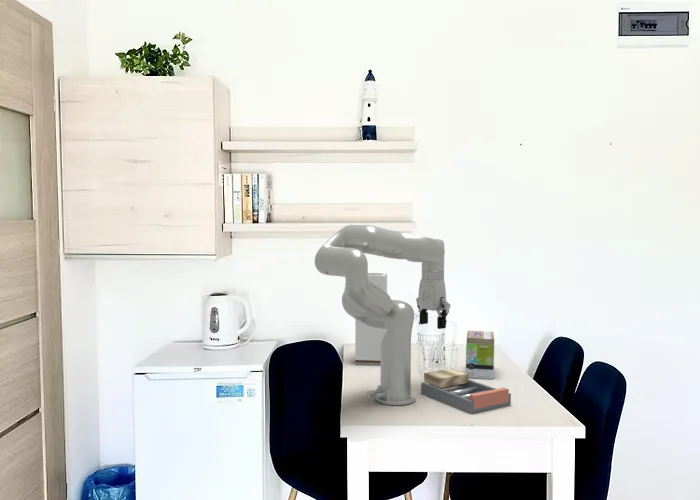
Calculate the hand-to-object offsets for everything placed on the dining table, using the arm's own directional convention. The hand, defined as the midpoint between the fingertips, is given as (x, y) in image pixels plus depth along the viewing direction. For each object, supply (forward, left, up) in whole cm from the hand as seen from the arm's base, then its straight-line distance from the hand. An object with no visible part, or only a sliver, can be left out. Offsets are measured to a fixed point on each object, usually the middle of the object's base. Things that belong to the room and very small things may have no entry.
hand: (432, 326), depth 210 cm
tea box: (+26, +4, -21) cm, 33 cm away
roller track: (0, -17, -21) cm, 27 cm away
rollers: (0, -16, -20) cm, 25 cm away
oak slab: (0, -8, -17) cm, 19 cm away
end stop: (0, -28, -20) cm, 34 cm away
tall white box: (+1, +39, -21) cm, 45 cm away
